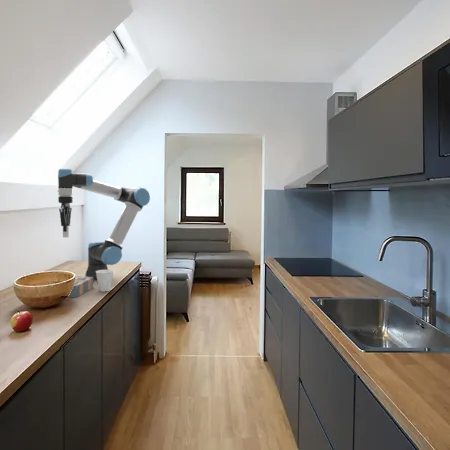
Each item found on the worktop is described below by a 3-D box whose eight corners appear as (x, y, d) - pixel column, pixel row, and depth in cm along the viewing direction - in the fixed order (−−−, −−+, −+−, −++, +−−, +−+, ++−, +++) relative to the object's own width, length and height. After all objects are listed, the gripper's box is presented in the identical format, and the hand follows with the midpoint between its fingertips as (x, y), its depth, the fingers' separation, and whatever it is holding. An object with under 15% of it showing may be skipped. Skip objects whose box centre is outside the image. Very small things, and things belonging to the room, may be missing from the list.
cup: (99, 293, 220) (99, 273, 220) (92, 289, 228) (92, 270, 227) (116, 291, 227) (116, 271, 226) (109, 287, 234) (109, 269, 234)
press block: (77, 286, 235) (77, 276, 234) (93, 287, 235) (93, 277, 234) (59, 296, 211) (59, 285, 210) (76, 297, 211) (77, 285, 210)
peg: (79, 287, 231) (79, 277, 230) (86, 288, 231) (86, 277, 230) (76, 289, 227) (76, 278, 226) (83, 289, 227) (83, 279, 226)
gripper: (63, 195, 237) (63, 235, 239) (54, 196, 224) (54, 238, 226) (76, 196, 237) (76, 236, 239) (67, 196, 224) (68, 238, 226)
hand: (65, 237), depth 232 cm, fingers closed
